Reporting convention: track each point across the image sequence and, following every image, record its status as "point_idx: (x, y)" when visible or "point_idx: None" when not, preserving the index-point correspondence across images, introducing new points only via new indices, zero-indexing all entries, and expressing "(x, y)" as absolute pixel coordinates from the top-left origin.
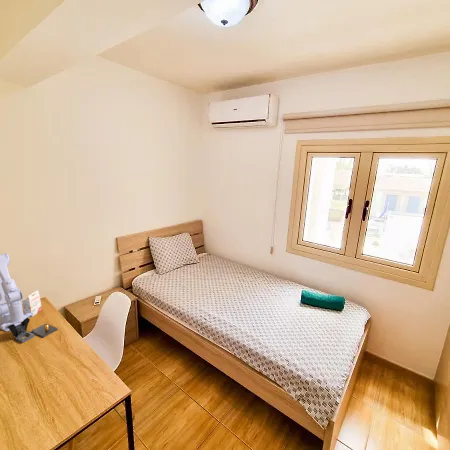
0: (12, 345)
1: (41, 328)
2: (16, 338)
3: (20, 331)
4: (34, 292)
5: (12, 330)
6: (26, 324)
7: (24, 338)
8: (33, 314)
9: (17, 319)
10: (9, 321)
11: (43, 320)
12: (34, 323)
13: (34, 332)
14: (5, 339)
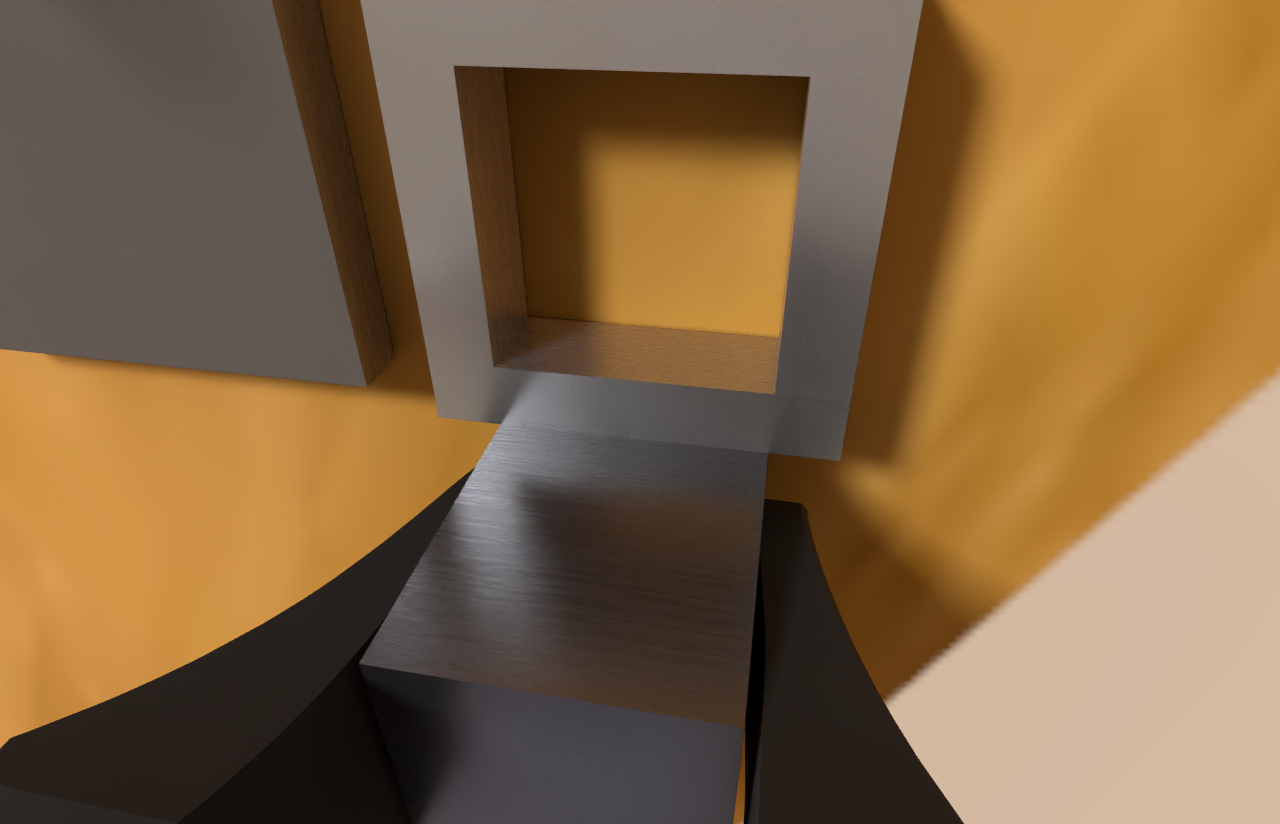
0: (1134, 211)
1: (89, 194)
2: (842, 411)
3: (635, 541)
4: None
5: (948, 808)
6: (288, 659)
7: (756, 58)
8: None
9: None
10: None
11: (58, 544)
12: (236, 613)
13: (325, 190)
14: (912, 658)
